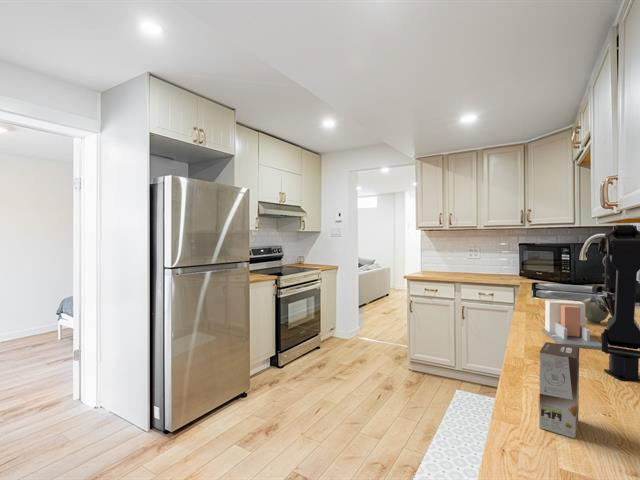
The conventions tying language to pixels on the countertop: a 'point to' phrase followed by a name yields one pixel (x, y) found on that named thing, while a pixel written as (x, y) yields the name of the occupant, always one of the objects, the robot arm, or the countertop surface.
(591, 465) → the countertop surface
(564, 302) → the test rig
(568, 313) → the plug
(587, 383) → the countertop surface
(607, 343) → the robot arm
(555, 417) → the coffee box
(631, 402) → the countertop surface
